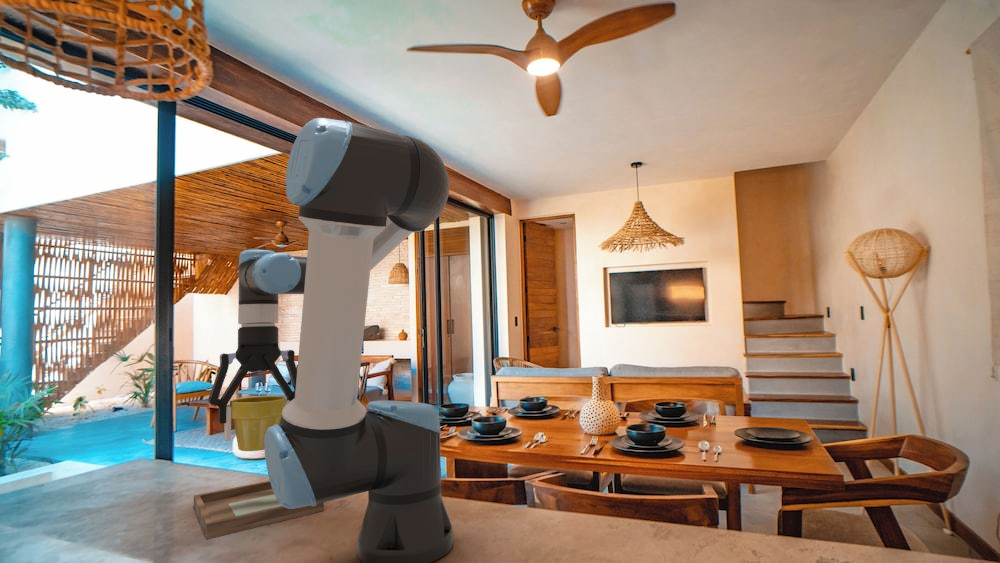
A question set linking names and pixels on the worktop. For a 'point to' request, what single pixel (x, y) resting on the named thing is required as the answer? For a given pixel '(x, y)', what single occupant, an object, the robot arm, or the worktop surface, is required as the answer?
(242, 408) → the plant pot
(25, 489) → the worktop surface
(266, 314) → the robot arm
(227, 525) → the walnut tray
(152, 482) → the worktop surface
